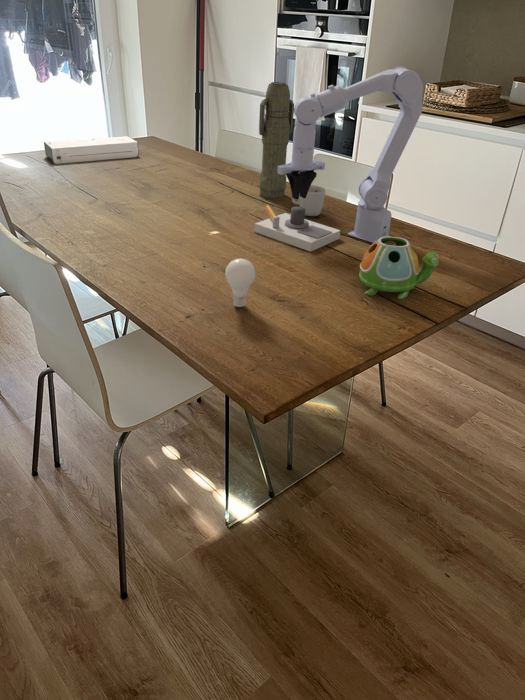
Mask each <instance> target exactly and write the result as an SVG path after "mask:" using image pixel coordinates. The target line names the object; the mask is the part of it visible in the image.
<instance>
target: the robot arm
mask: <svg viewBox="0 0 525 700" xmlns="http://www.w3.org/2000/svg"><path fill="white" fill-rule="evenodd" d="M327 88H328V89H325V90H323V91H321V92H317V93H315V92H312V93H310V97H308V96H305V97H300V98H299V99H298V100H297V102H295V104H294V115H295V120H294V128H293V136H292V139H293V141H292V151H291V162H289V163H286V164H285V165H281V166H278V171H277V173H278V174H280V175H284V174H286V179H287V180H288V183H289V186H290V191H291V199H292V198H294V199H295V200H296V201H298V200H299V193H300V197H302V198H306V196H307V193H308V190H309V188H310V186H311V185H312V183H313V182H314V181H315V180H316V178H317V171H319V170H321V171H324V170H326V169H325V168H326V161H322V160H318V161H316V160H314V152H315V144H316V143H315V141H316V132H317V130H316V126H317V125H316V124H317V121H318V120H319V118H323V117H326V116H328V115H332V114H333V113H336V112H339V111H342V110H344V109H345V108H346V107H347V104H348V103H349V102H350V101H354V100H357V99H359V98H362V97H365V96H368V95H370V94H374V93H376V92H383V93H387V94H392V95H393V96H394V97H395V98H396V101H397V104H398V107H399V109H400V112H399V113H398V116H397V118H396V120H395V122H394V124H393V125H392V129H391V130H390V132H389V135H388V137H387V139H386V141H385V144H384V145H383V148H382V150H381V152H380V154H379V155H378V158H377V160H376V162H375V165H374V167H373V168H372V169H371V170H370V171H369V172H368V174H367V176H366V177H365V178H364V179H362V181H361V182H360V183H359V186H358V194H359V196H360V199H359V200H358V201H357V202H358V203H357V210H356V217H355V223H354V230H353V231H350V232H348V233H347V235H348V236H350V237H354V238H357V239H361V240H362V241H366V242H370V243H372V244H373V243H374V242H376V241H377V240H378V239H379V238H381V237H386V236H387V237H390V235H389V234H390V226H391V222H392V212H391V211H390V210H388V209H386V207H384V206H385V204H386V202H387V201H388V192H389V189H390V188H391V182H392V181H391V179H392V175H393V172H394V171H395V169H396V166H397V165H398V163H399V160H400V159H401V156H402V154H403V152H404V150H405V148H406V146H407V144H408V142H409V140H410V138H411V135H412V134H413V131H414V130H415V128H416V126H417V123H418V121H419V119H420V117H421V115H422V113H423V107H424V106H423V89H424V84H423V81H422V80H421V78H420V75H419V74H418V73H417V72H416V71H415V70H411V69H408V68H407V67H405V66H396V67H394V68H393V69H392V68H390V69H386V70H384V71H381V72H378V73H375V74H373V75H372V76H369V77H367V78H364V79H363V80H360V81H358V82H355V83H354V84H351V85H349V86H346V87H342V86H340V85H334V84H331V85H328V86H327Z"/></svg>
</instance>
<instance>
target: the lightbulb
mask: <svg viewBox="0 0 525 700" xmlns="http://www.w3.org/2000/svg"><path fill="white" fill-rule="evenodd" d="M224 275H225V276H224V277H225V280H226V282H227V283H228V285H229V286H230V288H231V293H232V295H233V301H232V302H233V306H235V307H237V308H240V309H241V308H244V307H245V306H246V304H247V303H246V300H247V294H248V290H249V289H250V287H251V285H252V284H253V283H254V281H255V279H256V269H255V266H254V265H253V263H252V262H251V261H250V260H248V259H246V258H242V257H241V258H235V259H233V260H231V261H230V262H229V263H228V264H227V266H226V268H225V272H224Z"/></svg>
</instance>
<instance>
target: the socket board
mask: <svg viewBox="0 0 525 700" xmlns="http://www.w3.org/2000/svg"><path fill="white" fill-rule="evenodd" d="M277 216H278V217H280V219H279V228H273V221H272V219H271V218H270V217H269V218H267V219H264V220H261V221H257V222H255V223H254V233H256V234H259V235H262V236H266V237H268V238H271V239H274V240H276V241H279V242H282V243H284V244H288V245H290V246H293V247H296V248H299V249H301V250H305V251H308V252H313V251H315V250H317V249H320V248H322V247H324V246H326V245H329V244H332V242H336V241H337V240H340V237H341V230H340V229H337V228H335V227H331V226H328V225H325V224H322V223H319V222H315V221H313V220H309V219H305V218H304V220H306V221H308V222H309V226H308V227H306V228H304V229H299V230H298V229H294V228H290V227H287V226H286V225H285V221H286V220H288V219H290V216H291V213H287V212H284V213H281V214H278V215H277Z"/></svg>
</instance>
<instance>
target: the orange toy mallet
mask: <svg viewBox="0 0 525 700" xmlns="http://www.w3.org/2000/svg"><path fill="white" fill-rule="evenodd" d="M265 212H266V213H267V214H268V217H269V218H271V219H272V221H273V228H279V219H280V217H278V215H276V214H275V213H274V211H273V209H272V208H271V207H270V205H268V204H266V205H265Z"/></svg>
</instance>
